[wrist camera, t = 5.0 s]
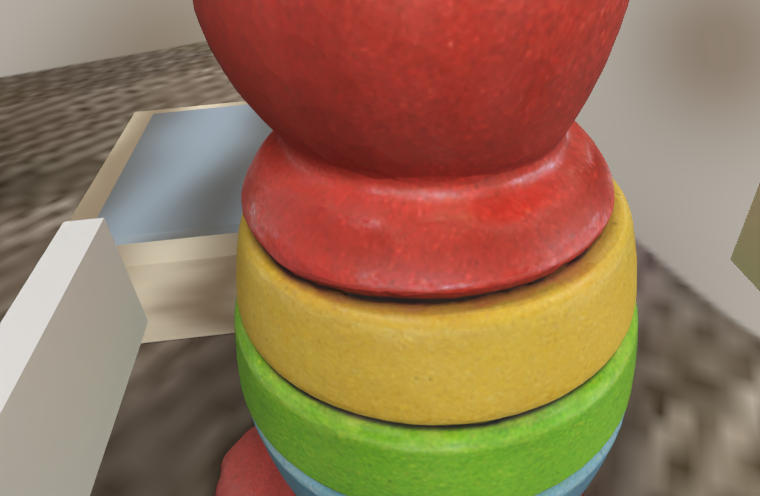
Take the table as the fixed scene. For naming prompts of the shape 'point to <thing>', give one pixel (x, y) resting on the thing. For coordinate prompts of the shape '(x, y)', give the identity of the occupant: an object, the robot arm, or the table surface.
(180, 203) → the plinth
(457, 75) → the stacking bear
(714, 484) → the table surface
